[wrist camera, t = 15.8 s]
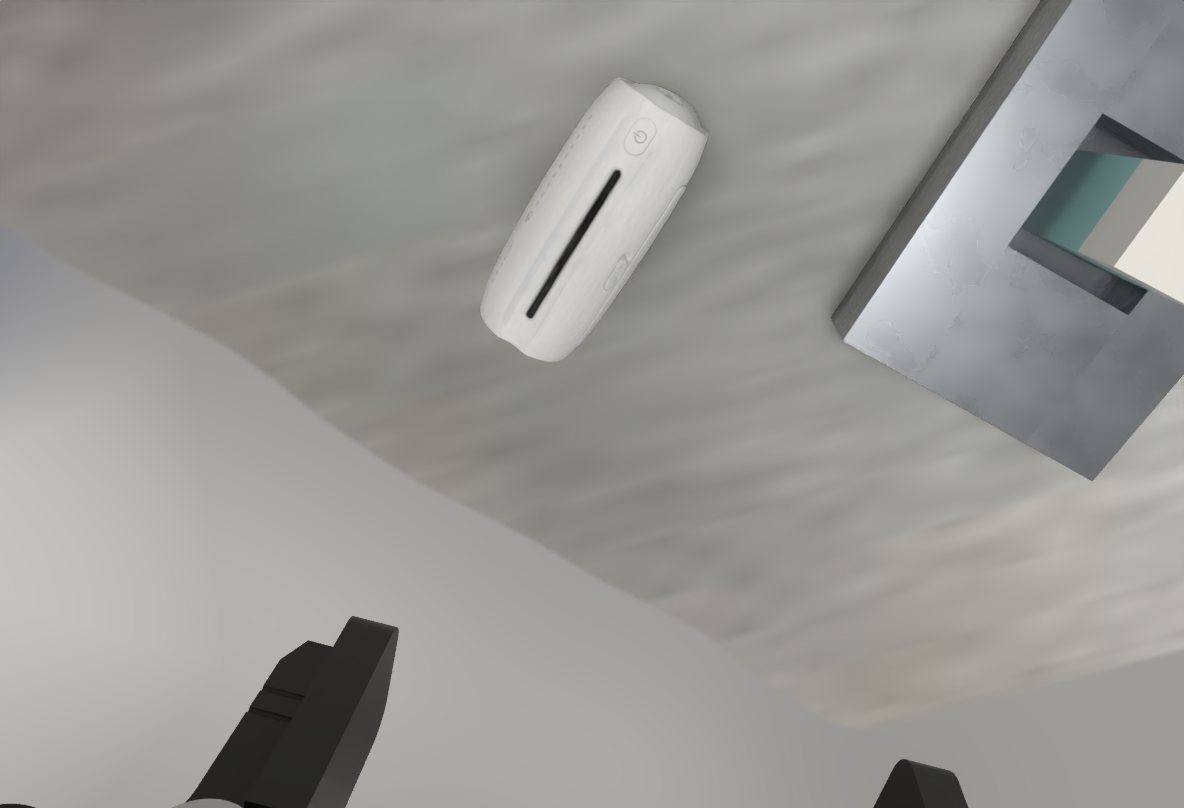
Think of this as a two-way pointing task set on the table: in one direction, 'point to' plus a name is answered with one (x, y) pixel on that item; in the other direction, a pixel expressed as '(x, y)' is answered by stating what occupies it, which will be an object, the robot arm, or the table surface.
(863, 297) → the block
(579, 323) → the photo printer
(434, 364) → the table surface
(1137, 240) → the plug
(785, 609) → the table surface
